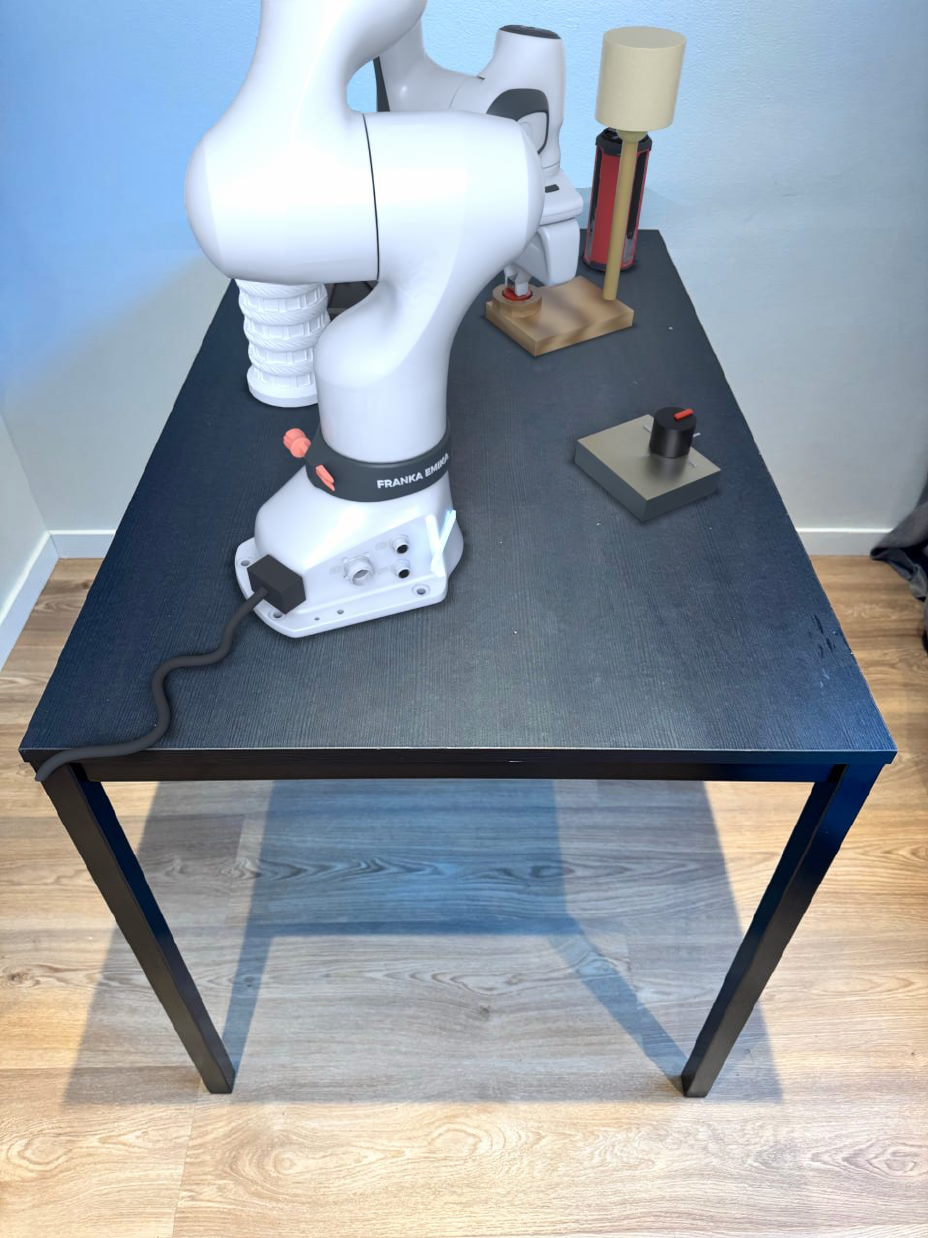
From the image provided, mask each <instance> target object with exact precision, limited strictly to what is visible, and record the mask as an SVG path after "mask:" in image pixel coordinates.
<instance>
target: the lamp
mask: <svg viewBox="0 0 928 1238" xmlns="http://www.w3.org/2000/svg"><path fill="white" fill-rule="evenodd" d="M601 41H602V42H601V52H600V60H599V70H598V79H597V86H596V88H597V89H596V98H595V107H594V120H595V121H596V122H597V123H599V124H601V125H603V126H605V127H606V128H608V127H610V128H614V129H616V131H617V134H618V136H619V137H620V138H621V139H622V140H623V143H622V151H621V159H620V166H619V174H618V182H617V189H616V197H615V205H614V212H613V220H612V228H611V235H610V243H609V250H608V258H607V266H606V271H605V276H604V283H603V289H602V290H603V298H604V299H606V300H614V299H615V298H616V299H617V295H618V294H617V293H618V288H619V281H620V280H619V279H620V273H621V271H620V267H621V260H622V253H623V246H624V239H625V232H626V225H627V218H628V211H629V204H630V197H631V190H632V183H633V176H634V169H635V162H636V154H637V147H638V141H640V140H642V139H643V138H644V137H645V136H646V135H647V134H649V132H655V131H660V130H664V129H667V128H668V127H670V126H672V124H673V123H674V121H675V114H676V107H677V101H678V97H679V96H678V95H679V89H680V84H681V78H682V71H683V66H684V61H685V60H684V59H685V54H686V47H687V42H688V39H687V37H686V36H685V35H683V34H682V33H680V32H678V31H675V30H672V29H667V28H662V27H655V26H644V25H643V26H642V25H641V26H640V25H639V26H637V25H636V26H635V25H634V26H633V25H632V26H622V27H616V28H615V27H614V28H611V29H608V30H606V31H604V32H603V34H602V40H601Z"/></svg>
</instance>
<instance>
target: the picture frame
mask: <svg viewBox="0 0 928 1238" xmlns="http://www.w3.org/2000/svg"><path fill="white" fill-rule="evenodd" d="M378 282H379V281H377V280H369V281H355V282H341V283H327V284H324V286H325V288H326V290H327V294H328V296H327V297H328V303H327V307H326V309H327V312H328V315H329V317H330V320H331V322H332V321H333V320H334V319H335V318H336V317H337V316H338V315H340V314H341V313H343V312H344V311H346V310H347V309H349V308H351V307H352V306H354V305H356V304H357V303H359V302H360V301H362V300H363V299H364V298H365V297H367V296H368V295H369V294H370V293H371V292H372V290H373V289H374V288H375V287H376V285H377V284H378ZM331 322H330V323H331Z"/></svg>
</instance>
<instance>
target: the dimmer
mask: <svg viewBox="0 0 928 1238" xmlns="http://www.w3.org/2000/svg"><path fill="white" fill-rule="evenodd" d="M653 421H654V416H652V415H650V413H649V414H648V413H647V414H644V415H642V416H639V417H637V418H634V419H632V420H629V421H626V422H623V423H620V424H617V425H615V426H612V427H609V428H607V429H604V430H601V431H599V432H595V433H593V434H590V435H587V436H585V437H582V438H579V439H577V440H576V446H575V453H574V454H575V455H574V464H576V465H577V466H578V467H579V468H580V469H581V470H582V471H583V472H584V473H586V474H587V475H588V476H589V477H590V478H592V480H594V481H595V482H596V483H597V484H598V485H599V486H601V487H602V488H603V489H604V490H605V491H606V492H607V493H608V494H609V495H611V496H612V497H613V498H614V499H615V500H616V501H617V502H618V503H619V504H621V505H622V506H623V507H624V508H625V509H626V510H627V511H629V512H630V513H631V514H632V515H633V516H634V517H636V518H637V519H638V520H639V521H640V522H641V523H645V522H648V521H649V520H652V519H655V518H656V517H659V516H662V515H664V514H666V513H668V512H669V513H670V512H671V511H674V510H676V509H678V508H681V507H683V506H685V505H689V504H690V503H692V502H693V503H694V502H695V501H697V500H700V499H702V498H704V497H707V496H709V495H711V494H714V493H716V490H717V486H718V482H719V479H720V476H721V471H722V469H721V468H720V467H718V466H717V465H715V464H714V463H713V462H712V461H710V460H709V459H708V458H706V457H705V456H704V455H703V454H701V453H700V452H698V451H697V449H695V448H694V447H692V446H691V447H690V451H689V452H688V453H687V454H686V455H684V456H682V457H677V458H669V457H664V456H661V455H658V454H657V453H655V452H654V451H653V450H652V449H651V448H650V445H649V441H650V436H651V431H652V426H653ZM700 436H702V434H701V433H700V432H697V433H694V435H693V439H695V438H698V437H700Z"/></svg>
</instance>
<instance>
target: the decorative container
mask: <svg viewBox="0 0 928 1238" xmlns="http://www.w3.org/2000/svg"><path fill="white" fill-rule="evenodd" d="M234 281H235V283H236V286H237V287H238V289H239V295H238V305H239V308H240V310H241V313H242V314H243V316H244V317H243V318H244V320H243V331H244V335H245V337H246V340H248V343H249V344H248V346H247V347H248V350H247V354H248V359H249V360H250V363H251V366H250V367H249V368H248V370H247V373H246V379H247V385H248V390H249V392H250V393H251V395H252V396H253V397H254V398H255V399H257V400H258V401H260V402H262V403H264V404H267V405H270V406H275V407H281V408H299V407H306V406H311V405H314V404H318V399H317V392H316V384H315V376H314V368H313V355H314V351H315V347H316V345H317V342H318V340H319V338H320V336H321V335H322V333H323V332H324V330H325V329H326V328H327V326H328V325H329V324H330V322H331V320H330V317H329V315H328V312H327V309H326V307H327V303H328V297H327V296H328V294H327V290H326V288H325V286H324V284H313V285H300V286H284V285H275V284H266V283H258V282H251V281H245V280H239V279H234Z"/></svg>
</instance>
